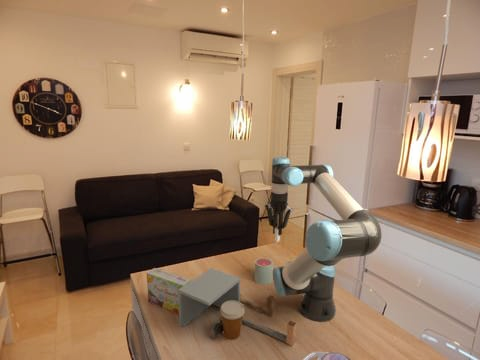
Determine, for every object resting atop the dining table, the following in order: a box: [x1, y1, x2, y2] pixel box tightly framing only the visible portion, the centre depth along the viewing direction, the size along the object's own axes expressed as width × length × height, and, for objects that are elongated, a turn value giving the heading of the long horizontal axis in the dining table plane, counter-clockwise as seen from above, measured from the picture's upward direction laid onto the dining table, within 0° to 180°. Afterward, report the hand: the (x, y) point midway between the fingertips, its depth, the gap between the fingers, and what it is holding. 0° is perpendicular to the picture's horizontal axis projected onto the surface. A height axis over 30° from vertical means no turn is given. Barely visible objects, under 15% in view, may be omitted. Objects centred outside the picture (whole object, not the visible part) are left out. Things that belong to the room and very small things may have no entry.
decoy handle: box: [240, 294, 276, 318], centre depth 138 cm, size 20×2×8 cm, turn 57°
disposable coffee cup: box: [219, 300, 245, 341], centre depth 120 cm, size 10×10×12 cm
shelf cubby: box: [178, 267, 241, 329], centre depth 127 cm, size 15×21×17 cm
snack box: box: [146, 267, 193, 315], centre depth 136 cm, size 21×6×15 cm, turn 62°
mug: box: [253, 257, 274, 286], centre depth 162 cm, size 14×9×10 cm
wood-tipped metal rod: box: [210, 316, 297, 347], centre depth 117 cm, size 27×16×8 cm, turn 57°
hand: (277, 240), depth 144 cm, fingers closed
